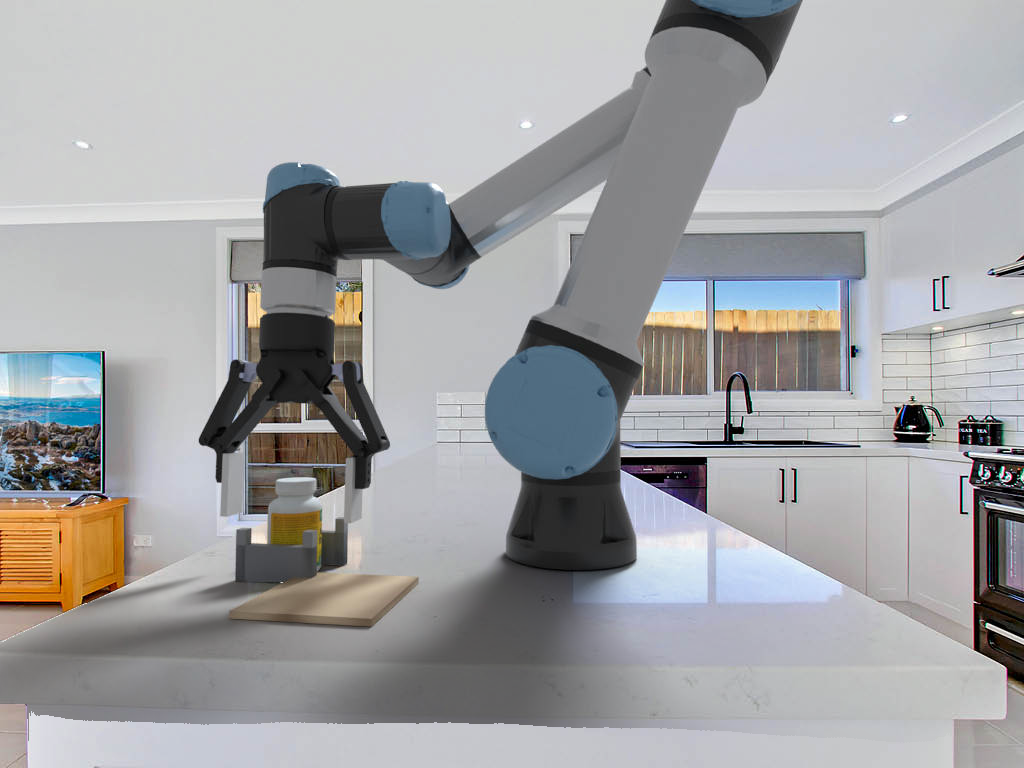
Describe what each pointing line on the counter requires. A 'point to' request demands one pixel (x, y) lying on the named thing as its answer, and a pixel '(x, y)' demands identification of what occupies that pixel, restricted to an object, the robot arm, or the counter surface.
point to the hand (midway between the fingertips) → (291, 518)
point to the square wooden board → (328, 599)
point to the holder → (289, 555)
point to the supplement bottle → (295, 513)
